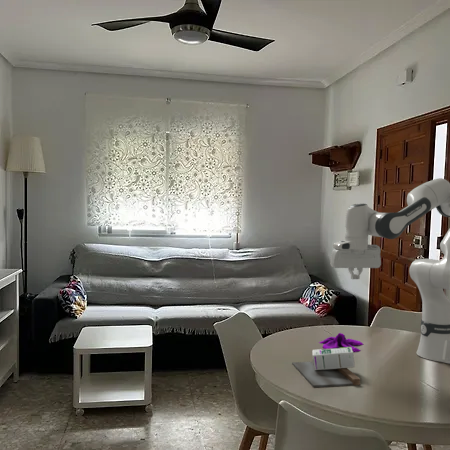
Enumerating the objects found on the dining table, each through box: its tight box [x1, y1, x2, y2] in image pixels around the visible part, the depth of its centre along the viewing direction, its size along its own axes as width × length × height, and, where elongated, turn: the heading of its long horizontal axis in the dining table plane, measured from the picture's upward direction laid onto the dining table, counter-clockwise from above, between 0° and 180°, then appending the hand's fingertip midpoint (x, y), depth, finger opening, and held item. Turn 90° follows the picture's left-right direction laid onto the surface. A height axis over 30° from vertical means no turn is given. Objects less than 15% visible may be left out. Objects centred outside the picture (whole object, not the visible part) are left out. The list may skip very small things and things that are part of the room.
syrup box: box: [311, 347, 356, 370], centre depth 165 cm, size 6×6×14 cm
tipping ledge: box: [292, 361, 361, 388], centre depth 162 cm, size 16×22×2 cm
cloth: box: [318, 332, 364, 353], centre depth 196 cm, size 22×19×6 cm
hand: (355, 279), depth 181 cm, fingers closed
